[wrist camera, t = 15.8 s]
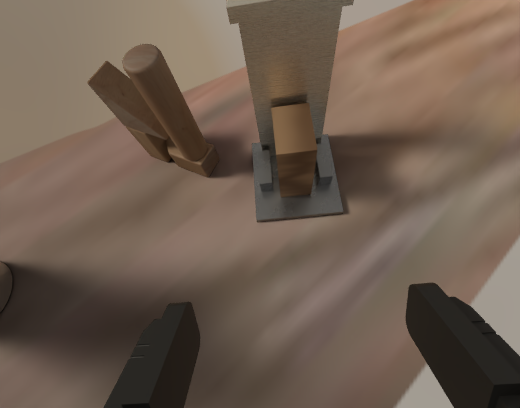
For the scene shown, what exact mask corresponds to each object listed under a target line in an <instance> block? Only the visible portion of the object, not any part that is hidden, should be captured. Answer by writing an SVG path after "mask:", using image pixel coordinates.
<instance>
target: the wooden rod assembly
mask: <svg viewBox="0 0 520 408" xmlns="http://www.w3.org/2000/svg"><path fill="white" fill-rule="evenodd" d="M122 63H123V68H124V70H125V71H126V73H127V74H128V76H129V77H130V78H128V77H127V76H126V75H124V74H123V73H122V72H121V71H119V70H118V69H117V68H116V67H114V66H113V65H112V64H110V63H109V62H108V61H105V63H104V64H103V65H102V66H101V67H100V68H99V69H98V71H97V72H96V73H95V74H94V75H93V76H92V77H91V78H90V80H89V81H88V82H87V83H88V85H89V86H90V87H91V88H92V89H93V90H94V92H96V94H97V95H98V96H99V97H100V98H101V99H102V101H103V102H104V103H105V104H106V105H107V106H108V108H109V109H110V110H111V111H112V112H113V113H114V114H115V116H116V117H117V118H118V119H119V120H120V121H121V122H122V124H123V125H124V126H126V128H127V129H128V130H129V131H130V132H131V134H132V135H133V136H134V137H135V138H136V139H137V141H138V142H139V143H140V144H141V145H142V146H143V147H144V149H145V150H146V151H147V152H148V153H149V154H150V155H151V156H152V157H155V158H158V159H160V160H163V161H166V162H169V161H170V159H171V158H172V159H173V160H174V161H175V163H176V164H177V165H178V166H179V167H182V168H184V169H187V170H190V171H192V172H195V173H198V174H200V175H203V176H206V177H209V176H210V174H211V173H212V171H213V169H214V167H215V166H216V164H217V162H218V161H219V156H218V154H217V152H216V150H215V148H214V146H213V145H212V144H209V143H206V142H205V140H204V138H203V136H202V134H201V132H200V130H199V128H198V126H197V124H196V122H195V120H194V118H193V116H192V114H191V112H190V110H189V108H188V106H187V104H186V101H185V99H184V97H183V95H182V93H181V92H180V89H179V87H178V85H177V83H176V81H175V79H174V77H173V75H172V73H171V71H170V69H169V67H168V65H167V63H166V61H165V59H164V57H163V55H162V53H161V51H160V50H159V49H158V48H157V47H156V46H154V45H151V44H142V45H139V46H136V47H134V48H132V49H131V50H129V51H128V52H127V53H126V54H125V56H124V57H123V61H122Z"/></svg>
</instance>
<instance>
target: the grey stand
mask: <svg viewBox="0 0 520 408" xmlns="http://www.w3.org/2000/svg"><path fill="white" fill-rule="evenodd" d="M353 1H354V0H226V7H227V12H228V16H229V22H230V24H235V23H239V28H240V34H241V39H242V45H243V50H244V55H245V61H246V66H247V72H248V77H249V83H250V88H251V93H252V99H253V104H254V110H255V115H256V120H257V126H258V131H259V137H260V143H252V153H253V169H254V186H255V202H256V219H257V222H264V221H274V220H285V219H295V218H305V217H315V216H326V215H336V214H343V207H342V202H341V197H340V192H339V187H338V182H337V177H336V173H335V168H334V163H333V158H332V153H331V148H330V143H329V138H328V134H326V135H322V133H323V126H324V120H325V114H326V107H327V101H328V94H329V88H330V82H331V75H332V69H333V62H334V56H335V50H336V43H337V37H338V30H339V24H340V17H341V11H342V6H349V5H353ZM303 103H309V106H310V111H311V117H312V123H313V128H314V134H315V139H316V145H317V156H316V163H315V170H314V177H313V185H312V192H311V194H308V195H298V196H289V197H281V196H280V186H279V177H278V167H277V158H276V148H275V138H274V129H273V119H272V110H271V108H273V107H280V106H288V105H296V104H303Z"/></svg>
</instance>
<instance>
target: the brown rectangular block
mask: <svg viewBox="0 0 520 408" xmlns="http://www.w3.org/2000/svg"><path fill="white" fill-rule="evenodd" d="M271 110H272V119H273V129H274V138H275V148H276V158H277V167H278V177H279V186H280V196H281V197H289V196H298V195H308V194H311V192H312V185H313V177H314V170H315V163H316V156H317V145H316V139H315V134H314V128H313V123H312V117H311V111H310V106H309V103H303V104H296V105H288V106H280V107H273V108H271Z"/></svg>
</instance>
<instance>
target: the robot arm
mask: <svg viewBox="0 0 520 408" xmlns="http://www.w3.org/2000/svg"><path fill="white" fill-rule="evenodd" d="M11 290H12V274H11V271H10V269H9V268H8V266H6V265H5V264H4V263H2V262H0V312H1V311H2V310H3V308H4V306H5V305H6V303H7V301H8V299H9V296H10V294H11ZM406 325H407V328H408V331H409V334H410V336H411V337H412V339H413V341H414V342H415V344H416V346H417V347H418V349H419V351H420V352H421V354H422V356H423V357H424V359H425V360H426V362H427V364H428V365H429V367H430V369H431V370H432V372H433V374H434V375H435V377H436V379H437V380H438V382H439V383H440V385H441V387H442V389H443V390H444V392H445V394H446V395H447V397H448V398H449V400H450V402H451V403H452V405H453V406H454V408H520V356H519V355H518V354H517V353H516V352H515V351H514V350H513V349H512V348H511V347H510V346H509V345H508V344H507V343H506V342H505V341H504V340H503V339H502V338H501V337H500V336H499V335H497V334H496V332H495V331H494V330H493V329H492V327H491V326H490V325H489V324H488V323H485V321H484V319H483V318H482V317H481V316H480V315H479V314H478V313H477V312H476V311H475V310H474V309H473V308H472V307H471V306H469V305H467V304H466V303H464V302H462V301H461V300H459V299H458V298H456V297H448V296H447V295H446V294H445V293H444V291H443V290H442V289H441V288H440V287H439V286H438V285H437V284H435V283H422V284H411V285H410V286H409V290H408V299H407V309H406ZM199 346H200V333H199V329H198V325H197V321H196V318H195V314H194V310H193V307H192V304H191V303H190V302H181V303H170V304H169V305H168V306H167V308H166V310H165V312H164V315H163V317H162V319H155V320H154V321H153V322H152V323H151V324H150V325H149V326H148V327H147V328H146V329H145V330H144V331H143V333H142V335H141V337H140V339H139V341H138V343H137V347H135V349H134V351H133V353H132V354H131V358H130V359H129V360H128V362H127V364H126V366H125V368H124V370H123V372H122V374H121V375H120V377H119V379H118V381H117V383H116V385H115V387H114V389H113V391H112V393H111V395H110V397H109V398H108V400H107V402H106V404H105V406H104V408H184V404H185V400H186V397H187V393H188V389H189V385H190V382H191V378H192V374H193V370H194V366H195V363H196V359H197V355H198V351H199Z"/></svg>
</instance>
